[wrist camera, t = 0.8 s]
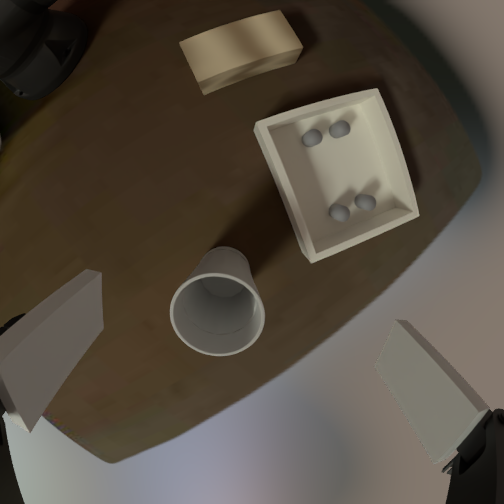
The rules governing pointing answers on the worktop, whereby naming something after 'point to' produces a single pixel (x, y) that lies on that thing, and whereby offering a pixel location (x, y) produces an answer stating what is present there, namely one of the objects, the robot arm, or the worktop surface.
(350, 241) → the white open box
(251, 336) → the cup
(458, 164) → the worktop surface
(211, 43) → the beige rectangular block
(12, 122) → the worktop surface
